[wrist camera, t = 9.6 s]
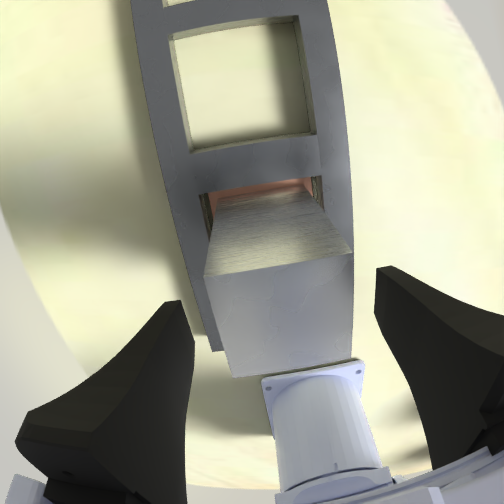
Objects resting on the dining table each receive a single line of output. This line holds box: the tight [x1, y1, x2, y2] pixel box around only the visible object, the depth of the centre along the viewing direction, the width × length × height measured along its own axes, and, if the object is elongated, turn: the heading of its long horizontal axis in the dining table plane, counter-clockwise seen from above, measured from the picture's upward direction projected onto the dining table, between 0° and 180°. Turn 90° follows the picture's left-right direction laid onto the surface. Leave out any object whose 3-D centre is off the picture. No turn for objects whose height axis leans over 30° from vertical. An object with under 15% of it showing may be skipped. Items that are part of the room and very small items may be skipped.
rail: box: [131, 0, 354, 352], centre depth 15 cm, size 22×9×2 cm, turn 9°
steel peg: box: [203, 184, 353, 378], centre depth 14 cm, size 4×4×8 cm
